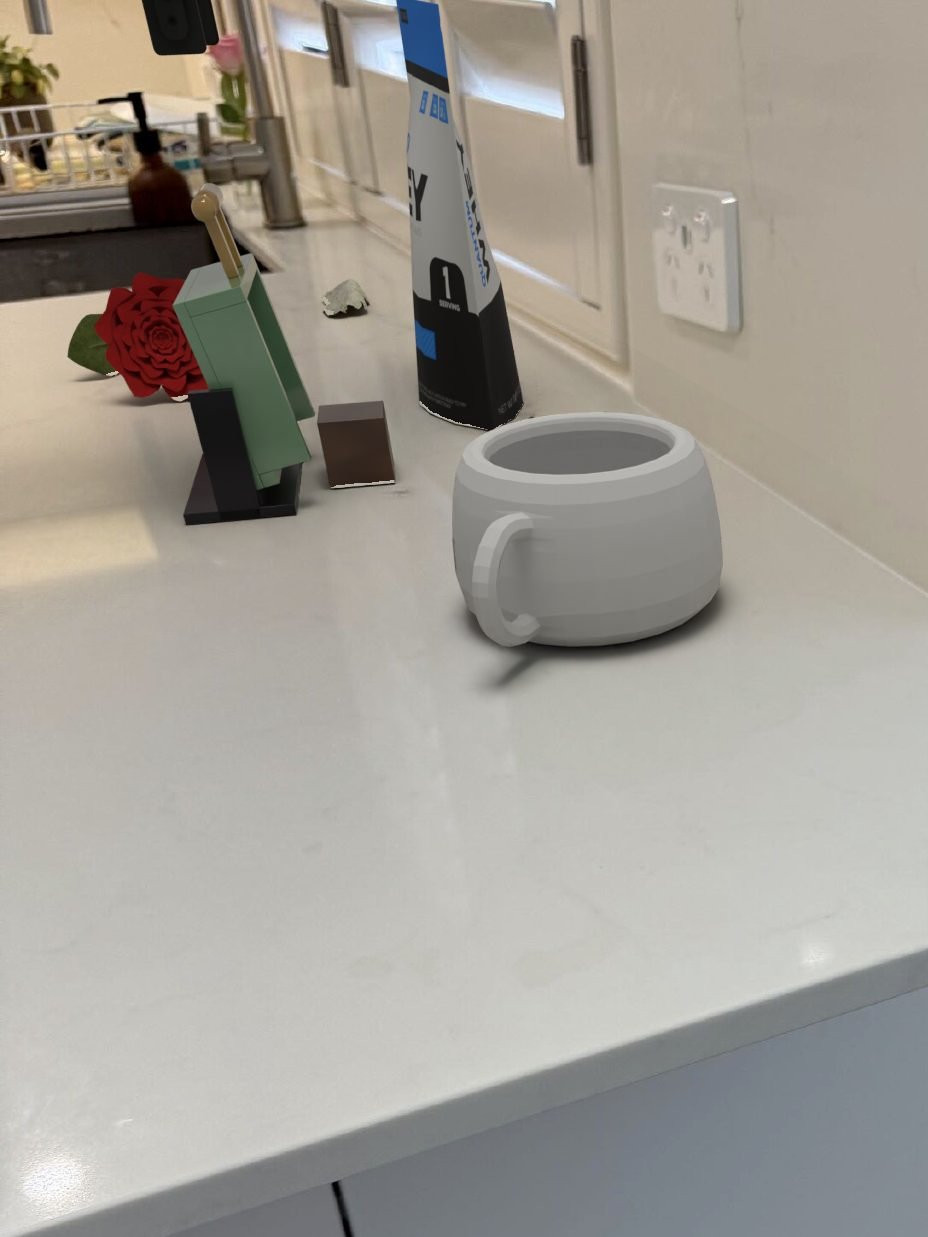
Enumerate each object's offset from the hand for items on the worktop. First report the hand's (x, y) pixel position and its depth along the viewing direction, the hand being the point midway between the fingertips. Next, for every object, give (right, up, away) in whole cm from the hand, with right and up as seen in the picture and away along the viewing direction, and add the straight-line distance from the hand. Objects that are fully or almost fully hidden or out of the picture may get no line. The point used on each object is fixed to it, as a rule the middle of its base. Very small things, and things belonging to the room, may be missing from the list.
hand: (189, 49), depth 89 cm
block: (+6, -17, +15) cm, 24 cm away
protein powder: (+11, -8, +36) cm, 39 cm away
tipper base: (-2, -23, +17) cm, 28 cm away
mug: (+26, -39, -5) cm, 48 cm away
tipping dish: (-3, -14, +10) cm, 18 cm away
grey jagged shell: (-10, +18, +69) cm, 72 cm away
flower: (-23, +1, +48) cm, 53 cm away
